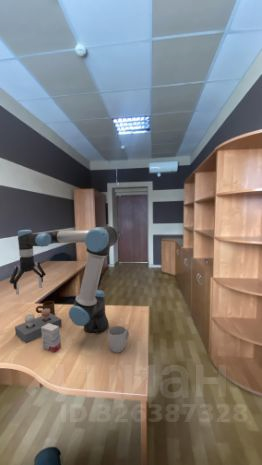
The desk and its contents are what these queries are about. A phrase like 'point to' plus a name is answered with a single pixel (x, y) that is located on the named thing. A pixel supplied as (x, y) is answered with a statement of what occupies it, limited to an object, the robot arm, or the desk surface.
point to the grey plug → (29, 320)
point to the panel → (35, 328)
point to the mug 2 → (117, 338)
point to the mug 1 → (47, 305)
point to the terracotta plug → (46, 314)
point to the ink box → (51, 337)
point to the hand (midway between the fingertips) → (29, 290)
